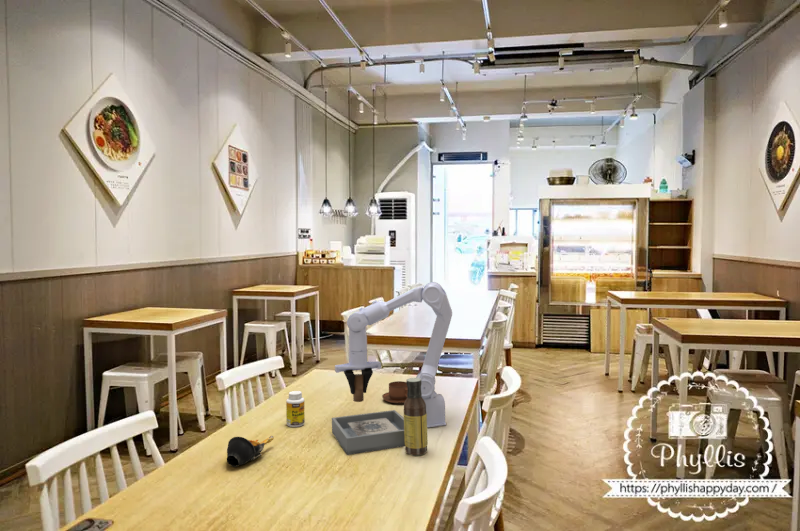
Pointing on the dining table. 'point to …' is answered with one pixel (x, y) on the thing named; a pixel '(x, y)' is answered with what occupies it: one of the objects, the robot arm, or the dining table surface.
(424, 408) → the sauce bottle
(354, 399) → the peg
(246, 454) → the fried shrimp in bowl
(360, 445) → the open box
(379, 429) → the bored plate
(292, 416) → the supplement bottle
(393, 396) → the cup and saucer
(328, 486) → the dining table surface
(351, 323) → the robot arm
